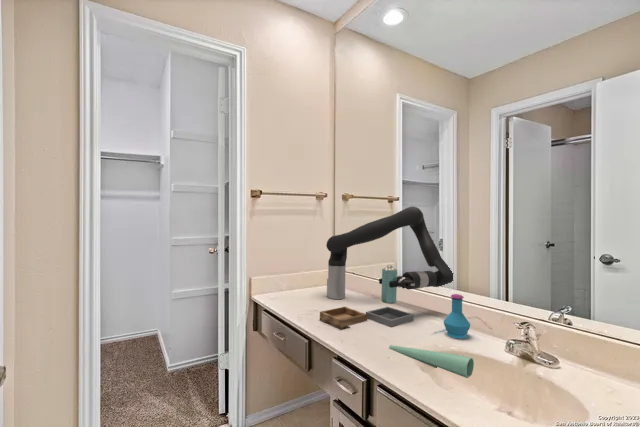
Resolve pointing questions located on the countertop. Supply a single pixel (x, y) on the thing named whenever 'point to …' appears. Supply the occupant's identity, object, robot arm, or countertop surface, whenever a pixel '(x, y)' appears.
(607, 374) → the countertop surface
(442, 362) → the mint green cone
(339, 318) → the walnut tray
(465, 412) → the countertop surface
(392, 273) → the teal octagonal tall prism
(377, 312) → the charcoal bin
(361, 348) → the countertop surface
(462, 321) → the perfume bottle
